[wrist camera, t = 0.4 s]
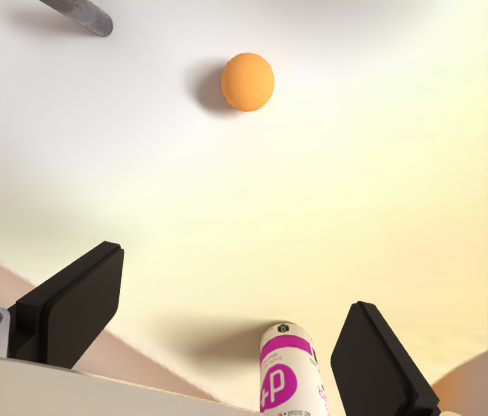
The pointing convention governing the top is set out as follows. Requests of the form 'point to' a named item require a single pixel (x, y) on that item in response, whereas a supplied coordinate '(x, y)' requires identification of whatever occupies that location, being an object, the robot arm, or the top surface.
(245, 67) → the ball
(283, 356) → the supplement can
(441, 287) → the top surface
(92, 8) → the post
